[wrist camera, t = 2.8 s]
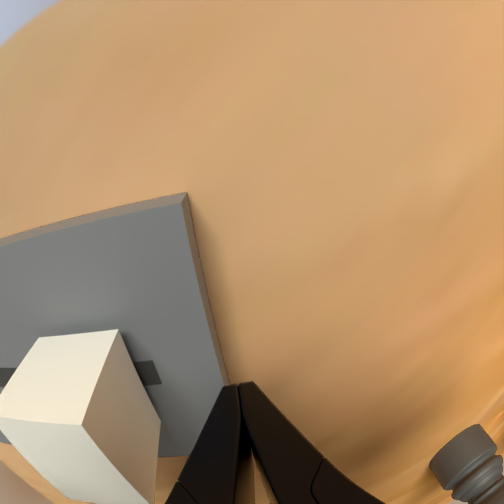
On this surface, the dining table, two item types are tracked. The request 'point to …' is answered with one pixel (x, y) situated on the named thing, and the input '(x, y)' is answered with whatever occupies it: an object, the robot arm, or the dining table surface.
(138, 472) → the fader knob
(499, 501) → the candle holder
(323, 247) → the dining table surface
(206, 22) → the dining table surface
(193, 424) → the fader panel
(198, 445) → the robot arm
